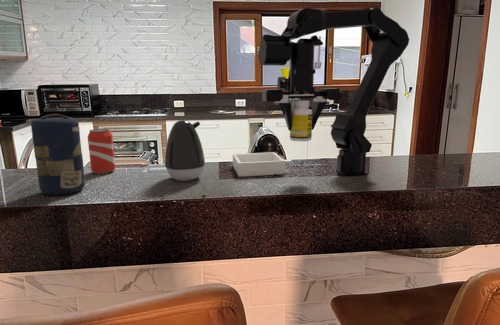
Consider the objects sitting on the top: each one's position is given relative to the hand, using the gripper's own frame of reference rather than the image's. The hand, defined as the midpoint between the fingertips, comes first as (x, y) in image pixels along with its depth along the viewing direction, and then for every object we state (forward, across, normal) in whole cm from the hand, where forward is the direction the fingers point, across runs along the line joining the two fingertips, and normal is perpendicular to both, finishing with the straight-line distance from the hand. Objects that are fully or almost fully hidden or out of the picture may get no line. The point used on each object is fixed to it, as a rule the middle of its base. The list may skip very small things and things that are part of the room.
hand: (300, 130), depth 90 cm
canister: (+13, +57, 0) cm, 58 cm away
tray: (+12, +9, -11) cm, 19 cm away
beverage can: (+13, +52, -18) cm, 56 cm away
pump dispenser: (+13, +29, -6) cm, 32 cm away
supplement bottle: (+3, 0, 0) cm, 3 cm away
